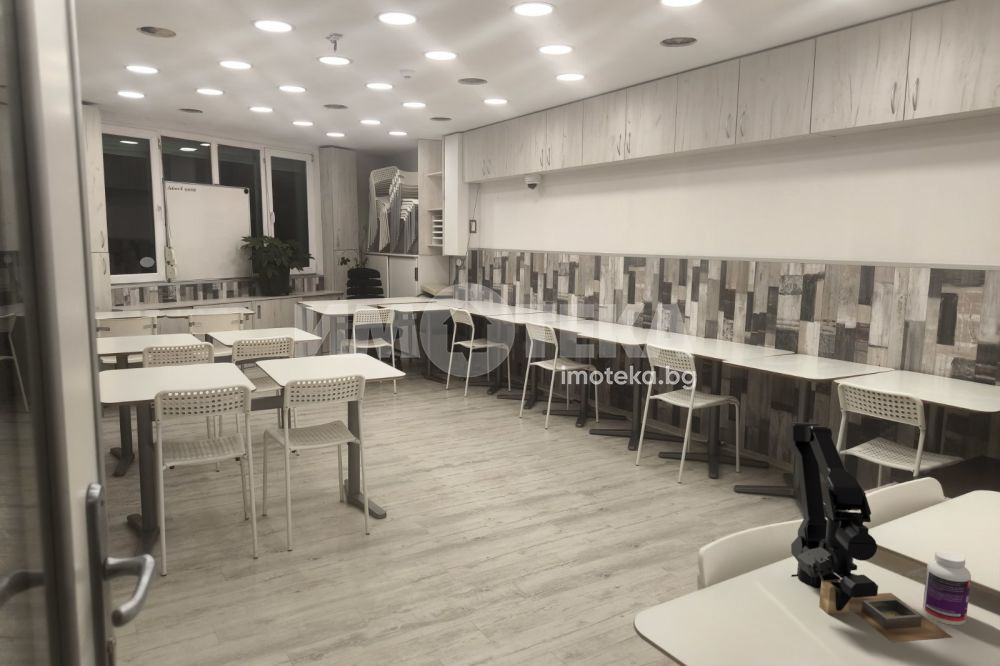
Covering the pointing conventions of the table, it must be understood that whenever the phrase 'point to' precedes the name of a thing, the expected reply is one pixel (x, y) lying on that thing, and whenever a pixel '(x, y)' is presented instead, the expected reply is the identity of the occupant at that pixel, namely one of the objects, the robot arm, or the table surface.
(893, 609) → the tin
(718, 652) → the table surface
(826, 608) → the tan wooden brick
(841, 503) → the robot arm
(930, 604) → the pill bottle
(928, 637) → the board
